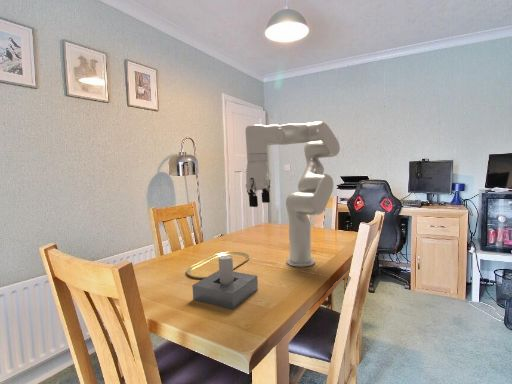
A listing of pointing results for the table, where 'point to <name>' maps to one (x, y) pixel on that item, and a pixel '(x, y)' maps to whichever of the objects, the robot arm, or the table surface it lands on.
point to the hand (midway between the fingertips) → (260, 204)
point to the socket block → (225, 289)
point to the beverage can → (226, 269)
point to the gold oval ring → (213, 258)
